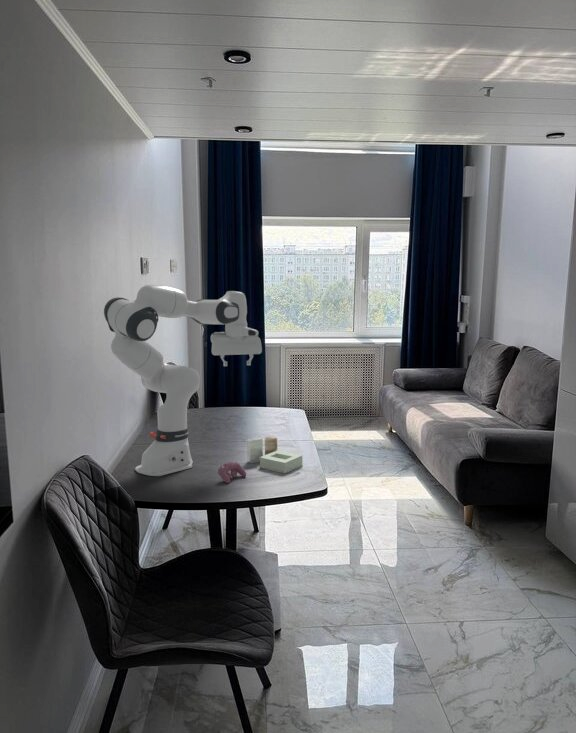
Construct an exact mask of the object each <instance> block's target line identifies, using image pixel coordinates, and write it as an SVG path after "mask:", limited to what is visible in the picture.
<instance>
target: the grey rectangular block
mask: <svg viewBox="0 0 576 733" xmlns="http://www.w3.org/2000/svg"><path fill="white" fill-rule="evenodd" d="M263 446H264V445H263V438H262V437H253V438H248V439H246V449H247V452H246V454H247V456H246V458H247V462H248V463H249V462H250V463H249V464H252V462H254V463H258V462H257V461H260V457H262V456H264V455H263V454H264V448H263Z"/></svg>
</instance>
